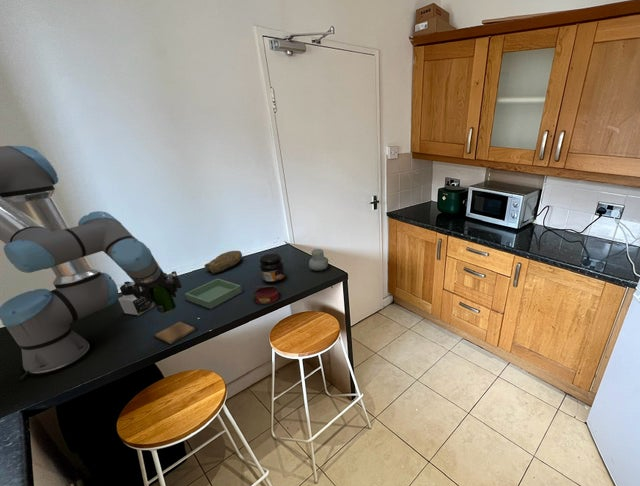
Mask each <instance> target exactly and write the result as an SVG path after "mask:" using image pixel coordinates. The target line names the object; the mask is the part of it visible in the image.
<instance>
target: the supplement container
mask: <svg viewBox="0 0 640 486" xmlns="http://www.w3.org/2000/svg"><path fill="white" fill-rule="evenodd" d="M258 260H259V263H260V264H259V268H260V272H261V273H260V274H261V277H262V281H263V282H264V283H266V284H269V285H273V284H278V283H281V282H283V281H284V280H285V279H286V273H285V267H284V261H283V260H282V255H281V254H279V253H276V252H275V253H274V252H272V253H266V254H263V255H261V256H260V257H259V259H258Z"/></svg>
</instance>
